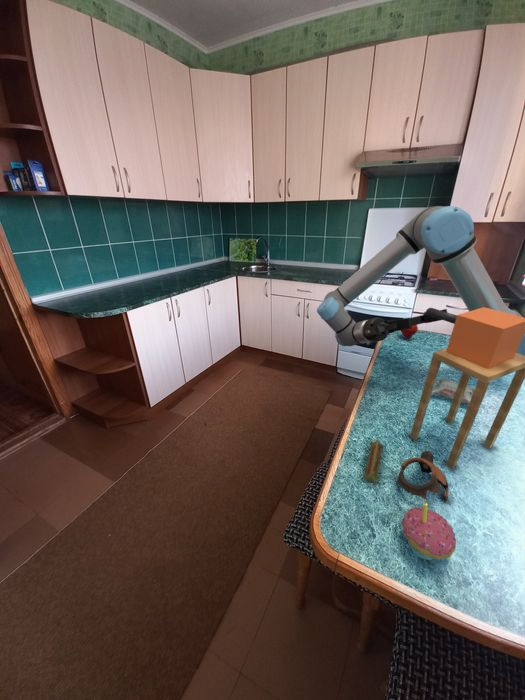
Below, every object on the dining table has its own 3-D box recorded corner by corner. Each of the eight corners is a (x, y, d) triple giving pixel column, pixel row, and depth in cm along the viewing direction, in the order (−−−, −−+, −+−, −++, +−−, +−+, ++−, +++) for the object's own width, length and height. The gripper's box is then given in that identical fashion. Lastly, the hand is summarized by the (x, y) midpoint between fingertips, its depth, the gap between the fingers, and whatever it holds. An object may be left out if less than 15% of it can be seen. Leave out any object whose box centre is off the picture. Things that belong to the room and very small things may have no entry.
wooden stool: (448, 419, 85) (477, 338, 73) (492, 446, 75) (533, 359, 63) (409, 436, 79) (433, 352, 67) (451, 469, 69) (488, 377, 57)
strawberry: (399, 334, 138) (404, 314, 133) (416, 338, 133) (421, 318, 129) (395, 338, 134) (399, 318, 129) (412, 342, 129) (418, 321, 125)
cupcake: (398, 560, 52) (412, 518, 46) (396, 517, 59) (409, 476, 53) (452, 579, 49) (475, 538, 44) (444, 531, 56) (463, 490, 51)
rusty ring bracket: (453, 516, 59) (442, 494, 56) (404, 509, 65) (391, 489, 62) (451, 463, 67) (441, 442, 64) (407, 461, 73) (396, 441, 70)
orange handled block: (433, 328, 79) (442, 296, 75) (513, 357, 64) (530, 319, 60) (408, 335, 75) (416, 302, 71) (487, 369, 60) (503, 329, 56)
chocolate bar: (381, 447, 76) (383, 440, 74) (375, 483, 66) (377, 476, 65) (371, 444, 77) (372, 437, 76) (364, 479, 67) (365, 472, 66)
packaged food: (471, 412, 87) (476, 398, 85) (428, 397, 94) (432, 384, 92) (475, 398, 93) (480, 386, 91) (434, 385, 100) (438, 373, 98)
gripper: (401, 334, 99) (463, 323, 79) (343, 349, 90) (396, 342, 70) (396, 313, 99) (457, 297, 79) (337, 326, 90) (389, 311, 70)
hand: (429, 318), depth 75 cm, fingers open, 13 cm apart
